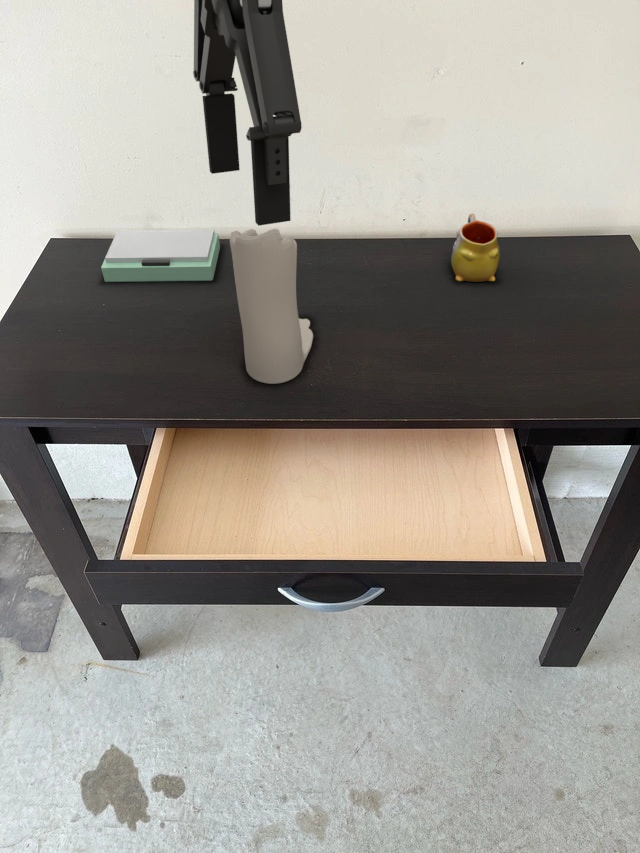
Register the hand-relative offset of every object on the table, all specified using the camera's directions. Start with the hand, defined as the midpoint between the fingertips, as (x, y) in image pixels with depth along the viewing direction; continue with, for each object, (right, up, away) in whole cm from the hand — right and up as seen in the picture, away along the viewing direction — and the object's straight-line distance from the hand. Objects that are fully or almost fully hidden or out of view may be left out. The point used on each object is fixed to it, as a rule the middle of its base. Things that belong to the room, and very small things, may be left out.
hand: (246, 194), depth 57 cm
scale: (-17, +5, +43) cm, 47 cm away
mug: (+29, +4, +42) cm, 51 cm away
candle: (+2, -10, +28) cm, 30 cm away
